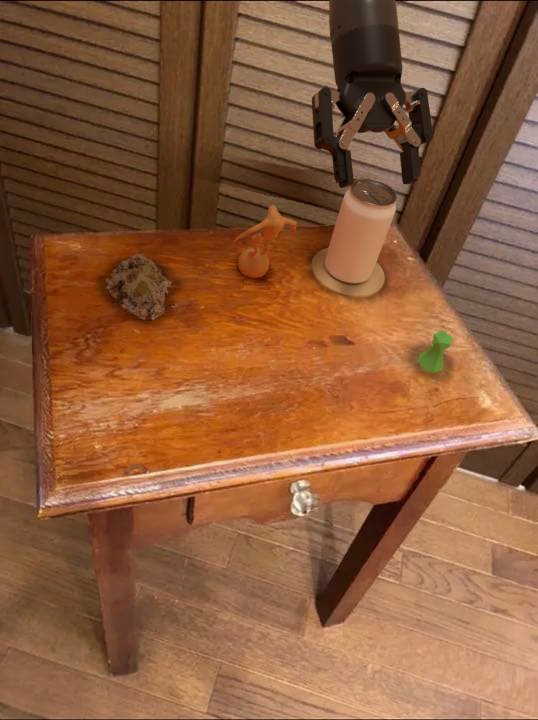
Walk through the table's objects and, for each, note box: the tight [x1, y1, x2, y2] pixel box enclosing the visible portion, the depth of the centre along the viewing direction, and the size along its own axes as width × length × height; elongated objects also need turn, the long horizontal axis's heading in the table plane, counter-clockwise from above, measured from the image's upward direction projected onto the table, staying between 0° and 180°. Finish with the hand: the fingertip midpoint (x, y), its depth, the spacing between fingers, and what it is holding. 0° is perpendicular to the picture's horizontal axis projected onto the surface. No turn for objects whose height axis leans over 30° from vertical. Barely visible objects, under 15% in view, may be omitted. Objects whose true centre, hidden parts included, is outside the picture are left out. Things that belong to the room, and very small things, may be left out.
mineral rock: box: [105, 253, 174, 321], centre depth 70 cm, size 11×4×8 cm
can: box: [325, 177, 398, 284], centre depth 74 cm, size 6×6×12 cm
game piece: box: [417, 330, 453, 374], centre depth 68 cm, size 4×4×6 cm
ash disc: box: [310, 247, 386, 299], centre depth 79 cm, size 10×10×2 cm
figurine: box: [232, 204, 298, 279], centre depth 72 cm, size 8×6×12 cm
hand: (379, 184), depth 68 cm, fingers open, 8 cm apart
